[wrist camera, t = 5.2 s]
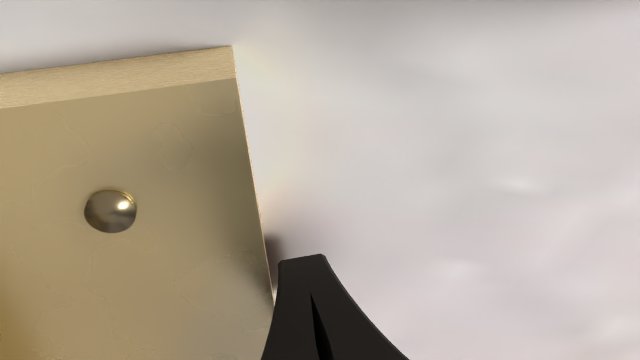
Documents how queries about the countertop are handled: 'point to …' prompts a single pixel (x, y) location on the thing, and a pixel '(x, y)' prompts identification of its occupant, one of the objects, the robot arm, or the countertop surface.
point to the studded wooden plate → (130, 213)
